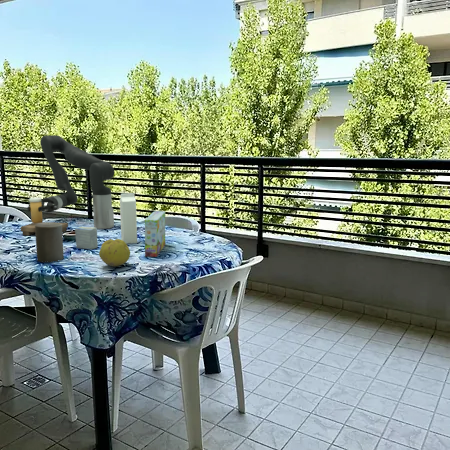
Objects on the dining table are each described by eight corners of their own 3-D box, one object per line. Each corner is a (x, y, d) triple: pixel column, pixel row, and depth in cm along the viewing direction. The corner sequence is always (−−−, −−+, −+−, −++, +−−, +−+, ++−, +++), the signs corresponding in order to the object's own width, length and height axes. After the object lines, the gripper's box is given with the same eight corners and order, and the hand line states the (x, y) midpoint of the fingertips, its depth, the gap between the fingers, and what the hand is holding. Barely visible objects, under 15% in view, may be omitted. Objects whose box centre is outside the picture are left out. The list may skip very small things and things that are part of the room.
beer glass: (45, 220, 222) (43, 197, 219) (39, 223, 217) (37, 199, 214) (35, 220, 222) (33, 197, 220) (29, 222, 217) (27, 198, 215)
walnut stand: (68, 231, 225) (67, 223, 224) (54, 236, 212) (54, 228, 211) (36, 229, 227) (35, 221, 226) (21, 235, 214) (20, 227, 214)
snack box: (158, 257, 179) (157, 219, 176) (144, 257, 179) (143, 219, 176) (166, 244, 200) (165, 210, 197) (153, 244, 200) (152, 210, 197)
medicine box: (98, 247, 194) (97, 227, 192) (91, 249, 190) (90, 229, 188) (82, 245, 196) (81, 226, 194) (76, 248, 192) (74, 228, 190)
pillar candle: (37, 263, 169) (34, 224, 166) (36, 257, 178) (34, 219, 175) (64, 261, 173) (63, 222, 170) (62, 254, 182) (61, 218, 179)
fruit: (92, 268, 163) (91, 241, 161) (111, 260, 174) (110, 235, 172) (119, 272, 159) (117, 244, 157) (136, 263, 170) (136, 237, 168)
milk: (137, 242, 202) (136, 193, 198) (123, 244, 200) (122, 194, 195) (134, 239, 208) (133, 192, 203) (121, 241, 205) (119, 192, 201)
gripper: (38, 196, 233) (19, 201, 216) (64, 196, 231) (47, 202, 214) (39, 210, 234) (20, 216, 218) (65, 211, 232) (48, 217, 216)
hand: (33, 209), depth 216 cm, fingers closed on beer glass, 5 cm apart
